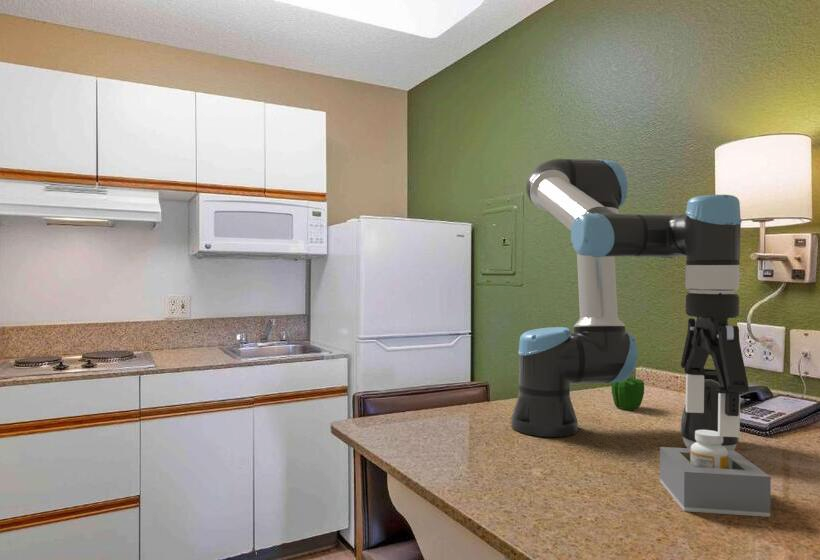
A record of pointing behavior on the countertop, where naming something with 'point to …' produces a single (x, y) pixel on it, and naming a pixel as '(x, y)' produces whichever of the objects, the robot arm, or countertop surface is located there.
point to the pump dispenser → (705, 418)
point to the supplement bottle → (708, 450)
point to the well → (715, 484)
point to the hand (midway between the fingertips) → (710, 423)
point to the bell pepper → (628, 393)
